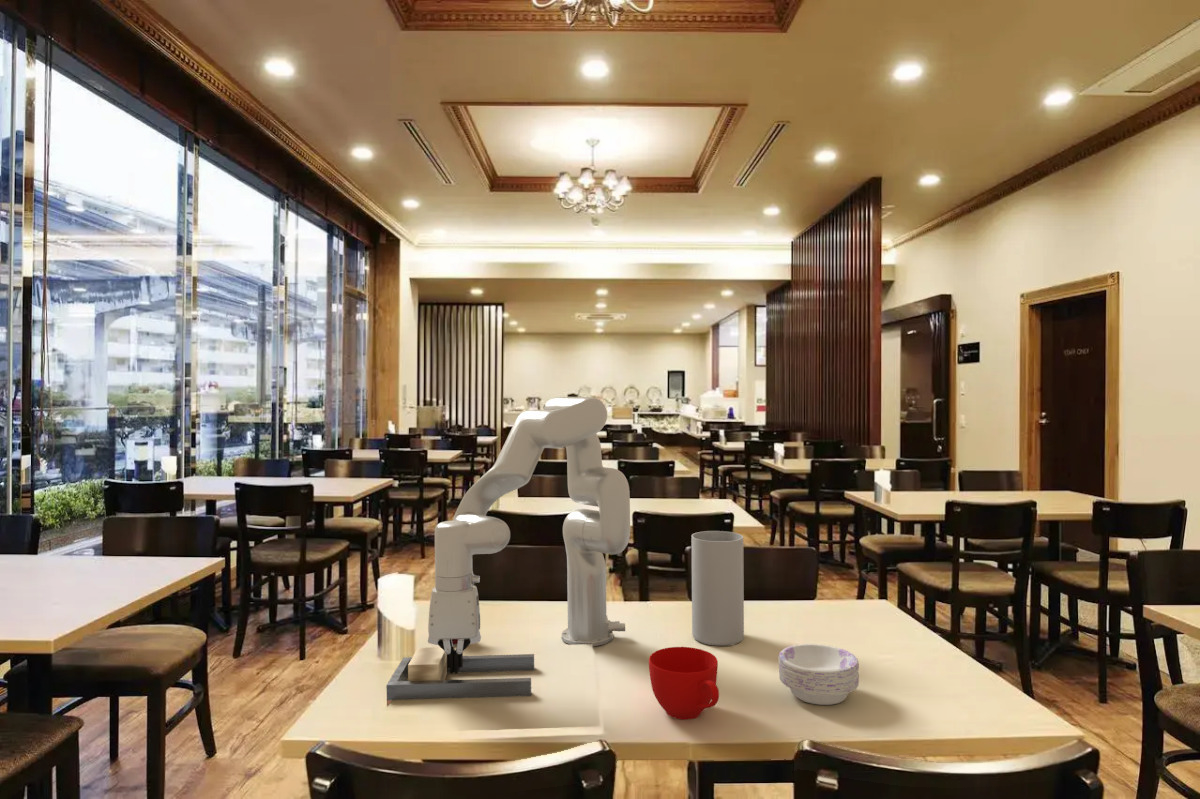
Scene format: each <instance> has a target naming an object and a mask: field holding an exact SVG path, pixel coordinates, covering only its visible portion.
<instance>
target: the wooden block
mask: <svg viewBox="0 0 1200 799" xmlns="http://www.w3.org/2000/svg"><path fill="white" fill-rule="evenodd" d="M447 675H448V673H447V654H446V653H445V651H444V650H443V649H442V648H441V647H440V646H438V647H437V646H436V647H435V646H434V647H433V646H432V647H417V649H416V651H415V652H414V654H413V655H412V659H411V661H410V662H409V664H408V678H407V681H433V680H446V677H447Z"/></svg>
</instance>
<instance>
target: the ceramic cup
mask: <svg viewBox="0 0 1200 799" xmlns="http://www.w3.org/2000/svg"><path fill="white" fill-rule="evenodd" d="M718 662H719V661H718V658H717V657H716V655H714V654H713V653H711V652H709V651H707V650H704V649H701V648H696V647H691V646H690V647H689V646H688V647H687V646H670V647H665V648H661V649H658V650H656V651H654V652H652V653H651V654H650V656H649V658H648V670H649V679H650V685H651V690H652V693H653V695H654V697H655V699H656V701H657V703H658V704H659V705H660V706H661V708H662V709H663V711H665V712H666V714H667V715H668V716H669V717H671V718H673V719H677V720H693V719H697V718H699V717H700V715H701V714H702V713H703V712H704V711H705V710H706V709H710V708H713V707H715V706H716V704H717V703H718V701H719V699H720V698H719V697H720V691H719V688H718V686H717V681H718V680H717V679H718V668H719V667H718V666H719V665H718Z"/></svg>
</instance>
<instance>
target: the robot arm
mask: <svg viewBox="0 0 1200 799" xmlns="http://www.w3.org/2000/svg"><path fill="white" fill-rule="evenodd" d="M607 420H608V410H607V407H606V405H605V404H604V403H603V401H601V399H598V398H597V397H592V396H590V397H589V396H557V397H553V398H551V399H549V400H547V401H546V403H545V404H544V407H543V409H529V410H526V411H523V412H521V413H520V414H519V415H518V416H517V417H516V419H515V421H514V423H513V425H512V427H511V429H510V431H509V433H508V435H507V437H506V440H505V442H504V444H503V446H502V449H501V450H500V452H499V454H498V456H497V459H496V460H495V462H494V464H493V465H492V467H491V468H490V469H489V470H488V471H486V472H485V473H484V474H483V475H482V476H481V477H480V478H479V479H478V480H476V482H475V483H473V484H472V486H470V487H469V489H468V490H467V491H466V493H465V494H464V495H463V496H462V499H461V500H460V503H459V505H458V507H457V509H456V511H455V513H454V516H453V517H452V520H445V521H441V522H439V523H438V524H436V526H435V528H434V580H435V581H434V583H435V584H434V587H432V589H431V593H430V601H429V607H428V608H429V610H428V627H427V628H428V638H427V639H428V640H427V643H428V644H431V645H435V646H437V645H438V647H441V648H442V649H443V650H444V651H445V653H446V654H447V668H450V673H449V674H450V675H451V674H452V675H453V674H456V675H457V674H459V673H458V672H459V669H460V668H462V666H463V656H464V655H463V654H464V653H463V652H464V651H465V650H466V649H467V648H468V647H469V645H474V644H478V643H480V642H481V639H482V636H481V631H480V630H481V612H480V610H481V608H480V600H479V592H478V588H477V585H475V584H476V583H480V579H481V578H480V577H481V576H480V575H476V574H474V571H473V555H486V554H488V555H490V554H496V553H498V552H501V551H502V550H503V549H505V548H506V546H507V545H508V544H509V543H510V540H511V530H510V527H509V526H508V524H507V523H506V522H505V521H504V520H502V519H500V518H498V517H494V516H488V515H487V513H488V511H489V510H490V509H491V506H493V505H494V504H495V502H497V501H498V499H500V498H501V497H503V496H504V495H505V496H506V495H507V494H509V493H511V492H514V491H516V490H518V489H520V488H522V487H524V486H525V485H527V484H528V483H529V482H530V480H531V478H532V476H533V473H534V472H535V470H536V466H537V464H538V462H539V460H540V458H541V455H542V454H543V451H544V450H545V449H563V448H565V449H566V450H565V451H566V463H567V464H566V465H567V466H566V467H567V468H566V469H567V470H566V473H567V491H568V495H569V498H570V500H572V501H573V502H574V503H577V504H579V505H586V506H592V507H597V508H598V510H594V509H588V508H587V509H586V508H580V509H579V508H578V509H575V510H572V511H571V512H570V513H568V514H567V515H566V517H565V518H564V521H563V525H562V537H563V542H564V546H565V552H566V568H567V569H566V570H567V572H566V573H567V575H566V577H567V580H566V581H567V582H566V584H567V587H566V588H567V628H566V629H564V630H563V631H562V632H561V640H562V641H563V642H564V643H566V644H569V645H573V646H575V645H578V646H579V645H592V647H598V646H603V645H605V644H608V643H609V642H610V641H612V640H613V638H614V635H613V634H614V633H613V632H626V623H625V622H621V623H620V621H619V620H615V621H614V620H613V621H611V620H610V619H608V615H607V565H606V560H605V558H604V554H608V555H619V554H620V553H622V552H623V551H624V550H625V549H626V548H627V546H628V544H629V541H630V538H631V537H630V535H631V498H630V497H631V496H630V495H631V494H630V485H629V482H628V479H627V478H626V476H625V474H624V473H623V472H622V471H620V470H618V469H617V468H614V467H605V466H603V465H604V464H603V459H602V456H603V455H602V445H601V441H600V439H599V436H598V433H599V432H600V431H601V430H603V428H604V426H605V425H606V423H607ZM452 639H458V644H457V646H456V648H455V646H453V644H452Z"/></svg>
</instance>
